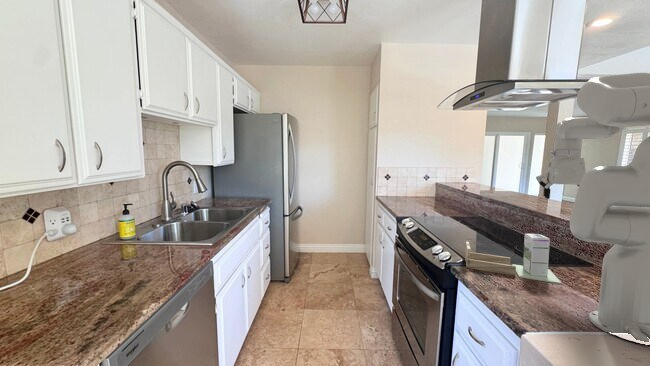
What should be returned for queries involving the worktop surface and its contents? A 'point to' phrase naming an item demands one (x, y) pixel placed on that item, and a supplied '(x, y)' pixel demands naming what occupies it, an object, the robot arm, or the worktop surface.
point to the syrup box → (536, 254)
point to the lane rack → (489, 262)
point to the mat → (524, 274)
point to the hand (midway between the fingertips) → (563, 199)
